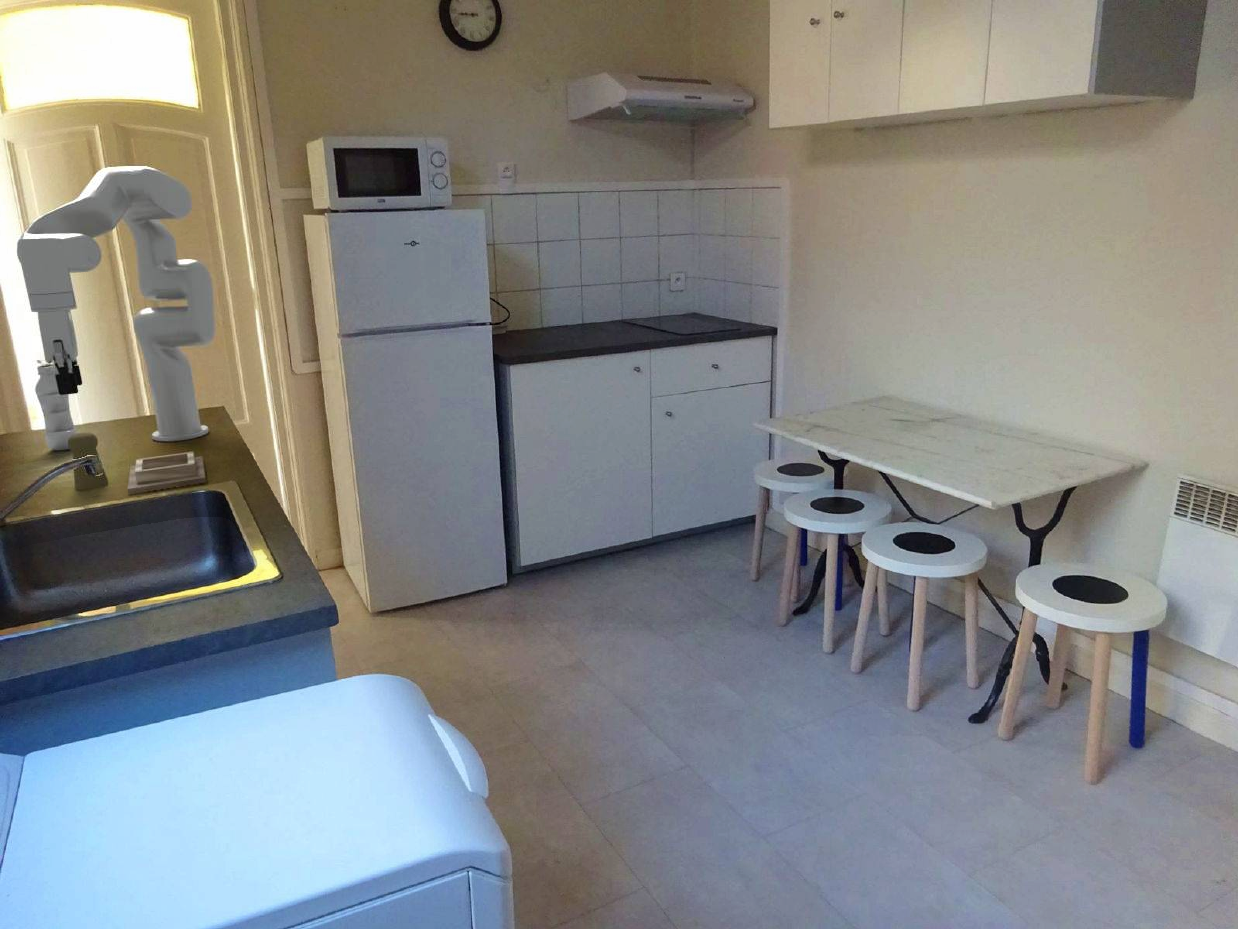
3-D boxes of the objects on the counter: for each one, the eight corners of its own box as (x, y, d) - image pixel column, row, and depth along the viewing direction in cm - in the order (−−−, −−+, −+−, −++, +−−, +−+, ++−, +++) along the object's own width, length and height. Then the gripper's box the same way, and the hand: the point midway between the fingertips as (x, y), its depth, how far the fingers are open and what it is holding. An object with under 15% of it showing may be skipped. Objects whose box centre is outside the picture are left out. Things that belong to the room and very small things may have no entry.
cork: (115, 482, 180) (105, 430, 177) (90, 491, 175) (78, 438, 172) (93, 480, 182) (82, 429, 179) (67, 489, 177) (56, 436, 174)
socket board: (131, 471, 188) (128, 456, 187) (202, 461, 194) (200, 446, 193) (128, 494, 172) (125, 478, 171) (206, 483, 178) (203, 467, 177)
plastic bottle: (41, 452, 205) (22, 368, 200) (68, 444, 211) (50, 362, 206) (60, 454, 203) (41, 369, 197) (87, 446, 209) (69, 364, 203)
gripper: (35, 300, 174) (54, 384, 179) (23, 307, 159) (43, 399, 164) (79, 297, 177) (96, 380, 182) (71, 304, 162) (89, 395, 167)
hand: (71, 389), depth 173 cm, fingers open, 9 cm apart
